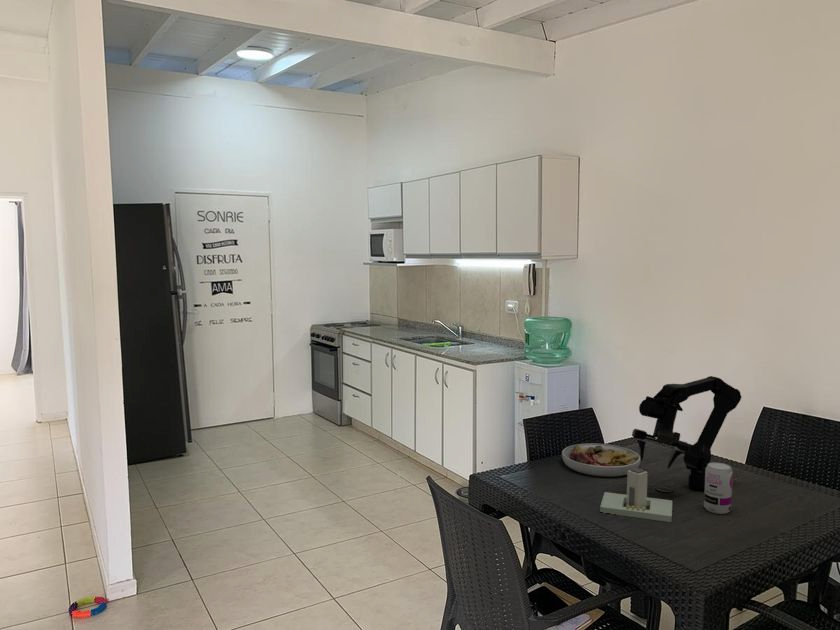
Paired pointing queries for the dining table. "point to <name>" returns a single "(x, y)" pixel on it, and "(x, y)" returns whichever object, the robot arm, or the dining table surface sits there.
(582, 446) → the bowl
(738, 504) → the dining table surface
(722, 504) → the supplement can
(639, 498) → the grey tall block
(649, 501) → the board
